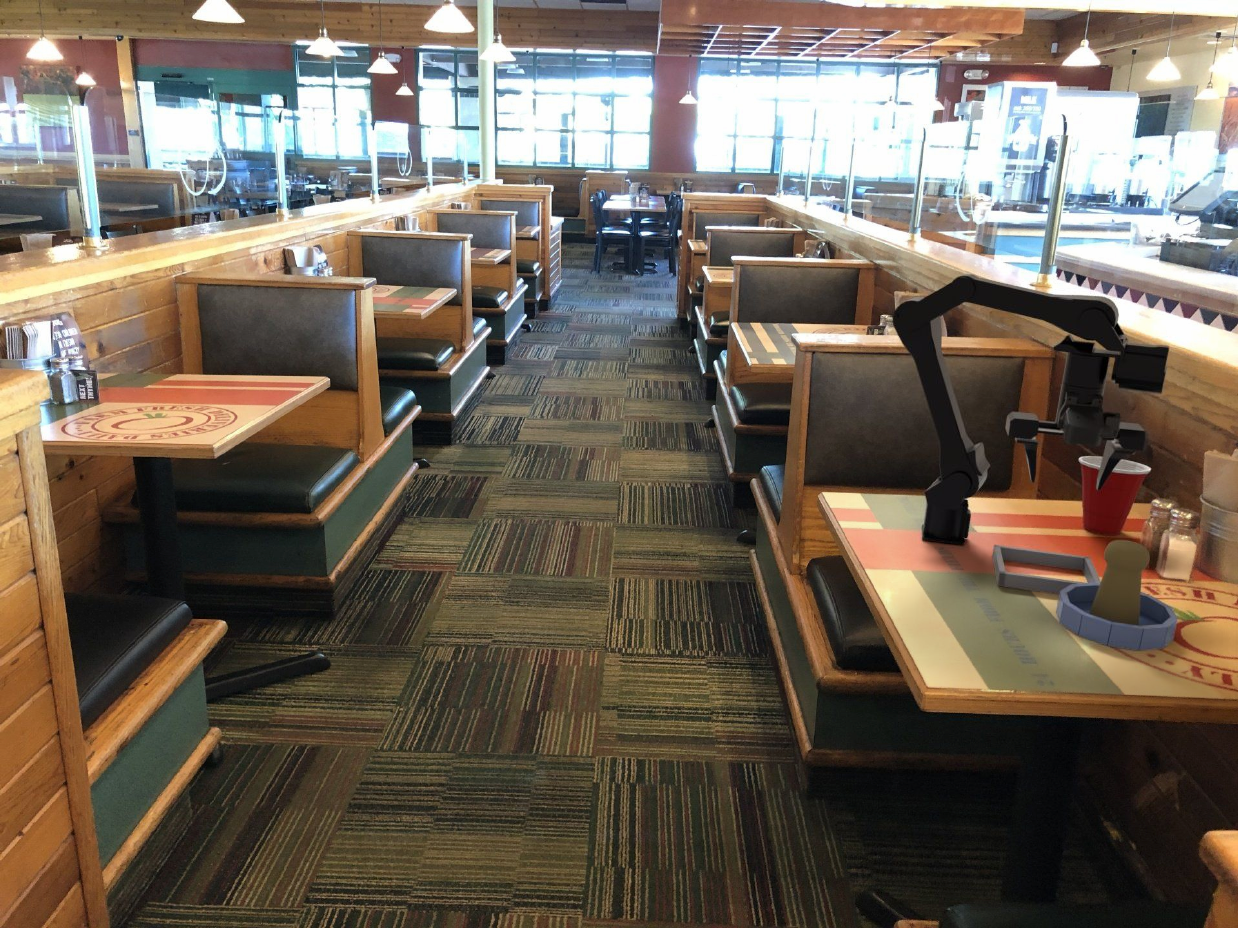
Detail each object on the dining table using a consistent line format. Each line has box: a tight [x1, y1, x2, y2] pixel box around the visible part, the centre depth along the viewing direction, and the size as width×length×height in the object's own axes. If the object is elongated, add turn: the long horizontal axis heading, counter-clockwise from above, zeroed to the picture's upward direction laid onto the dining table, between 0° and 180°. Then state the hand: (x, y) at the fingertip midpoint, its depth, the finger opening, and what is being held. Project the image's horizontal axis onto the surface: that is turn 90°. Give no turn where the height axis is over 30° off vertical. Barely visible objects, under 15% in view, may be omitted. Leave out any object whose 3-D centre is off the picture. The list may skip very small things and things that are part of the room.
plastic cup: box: [1078, 455, 1152, 536], centre depth 163 cm, size 11×11×12 cm
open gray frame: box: [991, 544, 1101, 595], centre depth 144 cm, size 14×12×2 cm
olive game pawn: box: [1089, 539, 1151, 626], centre depth 128 cm, size 6×6×11 cm
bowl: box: [1055, 582, 1179, 652], centre depth 129 cm, size 14×14×3 cm
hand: (1065, 485), depth 147 cm, fingers open, 9 cm apart
